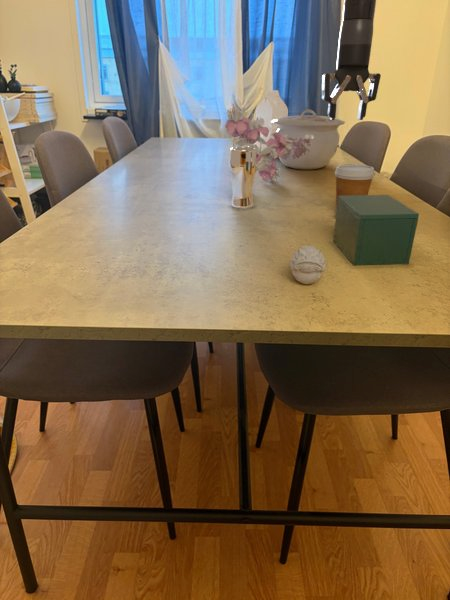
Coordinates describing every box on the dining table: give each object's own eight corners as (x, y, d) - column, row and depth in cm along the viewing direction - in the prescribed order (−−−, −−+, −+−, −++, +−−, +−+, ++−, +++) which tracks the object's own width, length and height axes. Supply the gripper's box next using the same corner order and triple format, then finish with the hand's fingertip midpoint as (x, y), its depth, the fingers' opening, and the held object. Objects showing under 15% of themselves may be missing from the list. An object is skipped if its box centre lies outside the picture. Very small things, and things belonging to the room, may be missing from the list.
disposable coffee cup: (372, 214, 111) (380, 165, 105) (362, 223, 103) (370, 172, 98) (336, 209, 115) (341, 162, 110) (324, 218, 108) (329, 168, 102)
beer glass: (250, 209, 115) (252, 150, 108) (226, 207, 117) (226, 149, 110) (257, 203, 120) (259, 147, 114) (234, 201, 123) (234, 145, 116)
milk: (270, 147, 215) (272, 89, 203) (287, 150, 207) (291, 90, 195) (252, 150, 208) (254, 90, 196) (269, 153, 200) (272, 90, 188)
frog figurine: (287, 291, 71) (290, 251, 68) (288, 274, 77) (291, 237, 74) (325, 293, 70) (329, 253, 67) (323, 276, 76) (327, 238, 73)
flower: (295, 189, 129) (303, 105, 128) (220, 181, 128) (227, 96, 127) (283, 202, 149) (289, 130, 148) (218, 196, 148) (224, 122, 147)
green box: (333, 241, 93) (337, 200, 89) (381, 239, 93) (388, 199, 89) (353, 265, 81) (360, 219, 77) (408, 264, 81) (418, 218, 77)
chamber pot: (343, 174, 156) (350, 112, 146) (266, 172, 159) (269, 111, 150) (337, 161, 180) (343, 107, 171) (271, 159, 184) (274, 106, 175)
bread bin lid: (337, 199, 89) (337, 195, 89) (387, 198, 90) (387, 194, 89) (360, 219, 77) (360, 215, 76) (418, 218, 77) (419, 213, 77)
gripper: (329, 42, 98) (321, 121, 105) (391, 42, 98) (379, 121, 106) (320, 44, 104) (314, 118, 112) (378, 44, 105) (368, 118, 113)
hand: (346, 119), depth 109 cm, fingers open, 6 cm apart
